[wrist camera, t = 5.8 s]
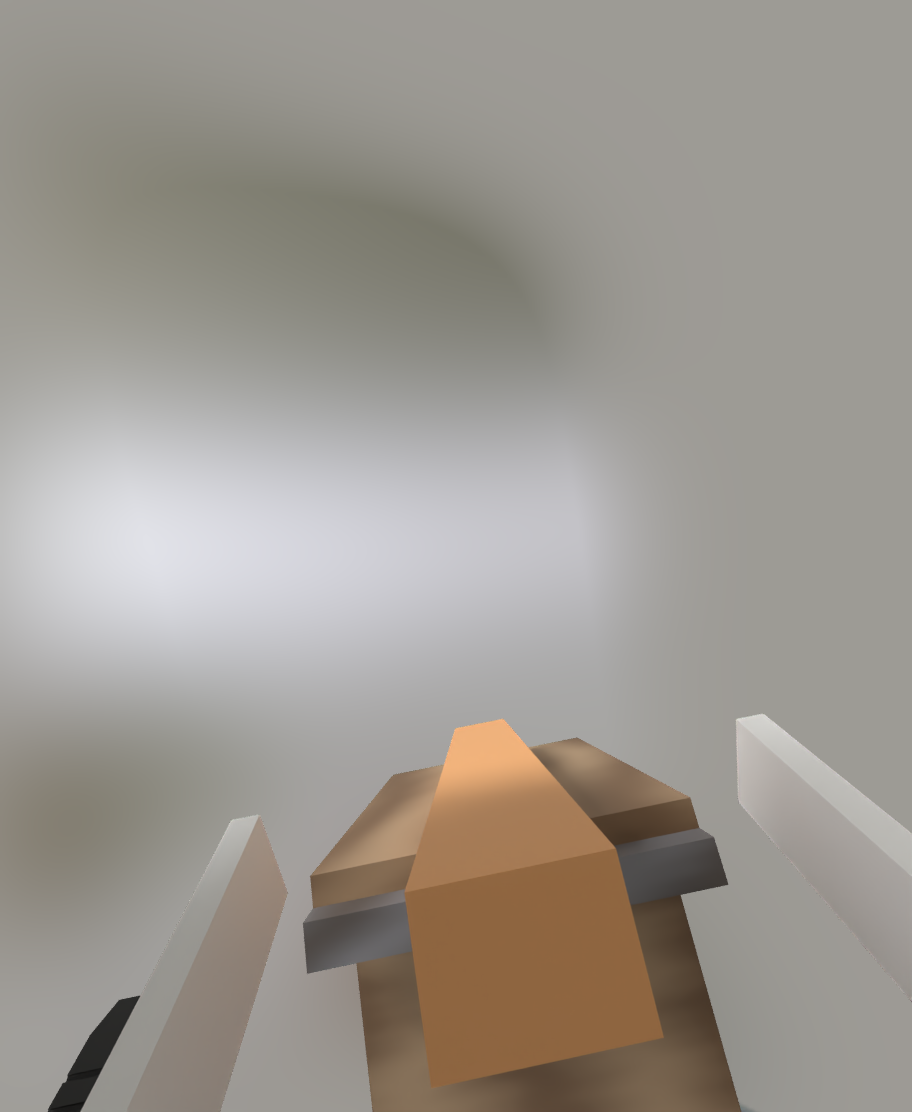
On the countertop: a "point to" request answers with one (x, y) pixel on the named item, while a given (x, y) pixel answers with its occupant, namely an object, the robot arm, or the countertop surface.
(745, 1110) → the countertop surface
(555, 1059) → the tan flat bar
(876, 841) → the robot arm
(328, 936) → the tower
